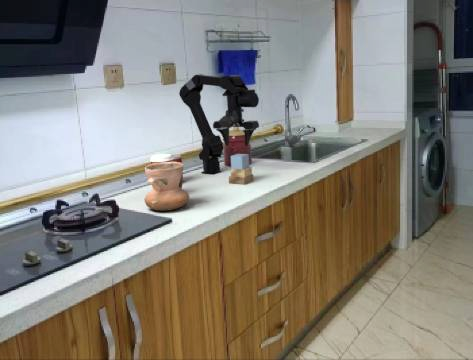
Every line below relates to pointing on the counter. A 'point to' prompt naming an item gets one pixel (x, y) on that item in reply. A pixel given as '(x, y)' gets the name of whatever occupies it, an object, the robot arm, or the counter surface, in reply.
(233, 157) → the block
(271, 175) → the counter surface
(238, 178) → the tower base
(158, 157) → the coffee cup
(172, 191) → the ceramic jug
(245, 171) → the tower mid
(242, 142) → the canister
